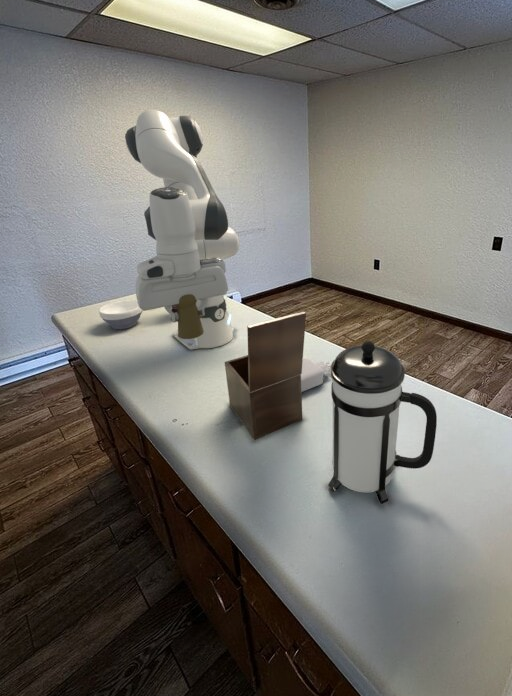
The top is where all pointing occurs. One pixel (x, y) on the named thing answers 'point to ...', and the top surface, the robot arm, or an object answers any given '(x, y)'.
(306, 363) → the tissue pack
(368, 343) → the coffee press
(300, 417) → the box
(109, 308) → the bowl
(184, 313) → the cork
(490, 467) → the top surface
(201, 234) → the robot arm
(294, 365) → the lid
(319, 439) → the top surface
